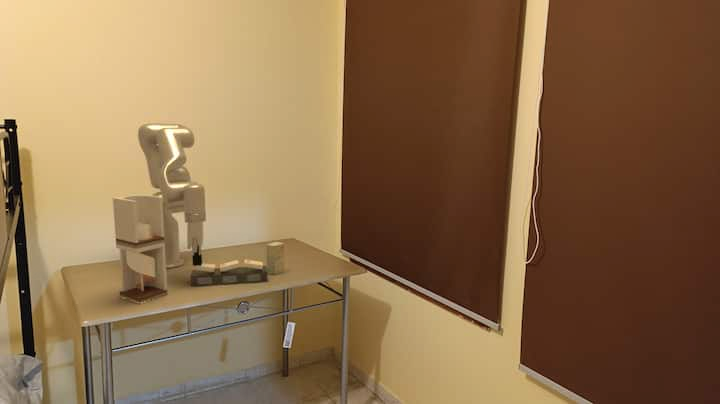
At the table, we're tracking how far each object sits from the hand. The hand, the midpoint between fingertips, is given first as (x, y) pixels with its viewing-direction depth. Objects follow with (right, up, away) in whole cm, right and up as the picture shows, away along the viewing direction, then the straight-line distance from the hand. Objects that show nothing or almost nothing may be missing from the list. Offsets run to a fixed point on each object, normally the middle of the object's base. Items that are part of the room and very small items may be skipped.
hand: (197, 264), depth 180 cm
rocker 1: (+2, -1, +1) cm, 3 cm away
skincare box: (+27, -5, +16) cm, 31 cm away
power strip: (+11, -7, +4) cm, 14 cm away
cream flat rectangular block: (+11, -1, +4) cm, 12 cm away
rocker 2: (+20, -1, +6) cm, 21 cm away
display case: (-14, -9, -13) cm, 22 cm away
